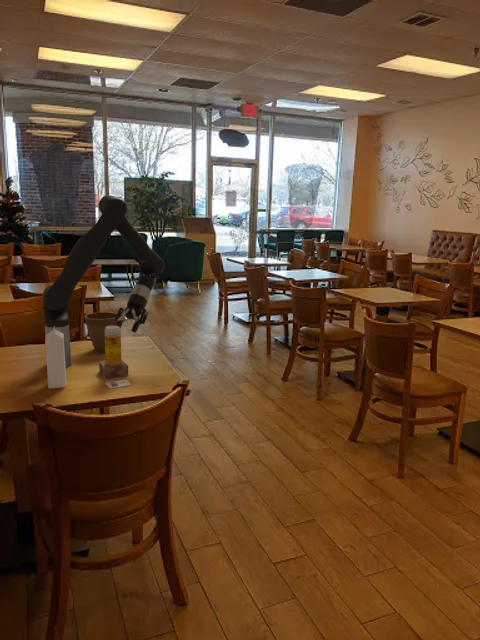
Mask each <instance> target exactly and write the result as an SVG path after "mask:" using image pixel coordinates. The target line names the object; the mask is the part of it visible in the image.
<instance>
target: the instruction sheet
mask: <svg viewBox="0 0 480 640" xmlns="http://www.w3.org/2000/svg"><path fill="white" fill-rule="evenodd" d="M104 385H106V387H107V388H108V389H110V390H111V389H116V388H117V389H118V388H123V387H129V386H131V383H130V382H129V381H128V380H127V378H126V379H120V380H114V381H108V382H104Z"/></svg>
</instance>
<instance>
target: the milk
mask: <svg viewBox="0 0 480 640" xmlns="http://www.w3.org/2000/svg"><path fill="white" fill-rule="evenodd" d="M44 341H45V342H44V344H45V343H46V350H45V359H46V358H47V364H46V368H47V369H46V370H47V371H46V372H47V386H48V387H47V388H48V389H58V388H59V389H60V388H66V387H67V371H66V368H67V367H65V350H64V334H63V333H61V332H59V331H57V330H55V326H54V329H53V331H51V332H50V333H48V334H46V335H45V339H44Z"/></svg>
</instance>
